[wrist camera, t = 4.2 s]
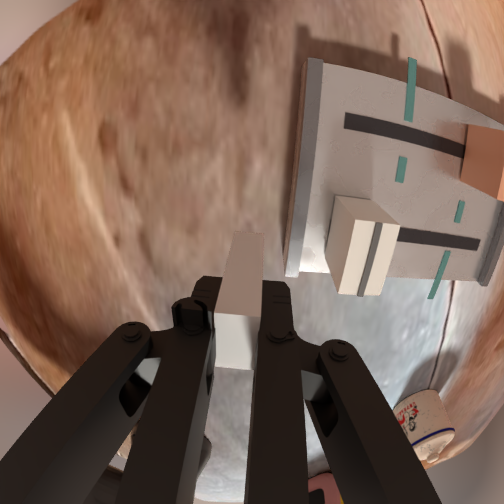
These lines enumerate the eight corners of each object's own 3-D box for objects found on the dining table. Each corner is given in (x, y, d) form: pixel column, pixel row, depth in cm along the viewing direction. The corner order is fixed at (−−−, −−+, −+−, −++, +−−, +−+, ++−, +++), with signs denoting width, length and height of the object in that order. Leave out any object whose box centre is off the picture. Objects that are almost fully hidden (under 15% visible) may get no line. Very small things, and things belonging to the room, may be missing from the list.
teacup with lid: (404, 391, 34) (425, 454, 24) (447, 383, 34) (471, 438, 24) (375, 429, 40) (387, 483, 29) (416, 422, 40) (431, 471, 29)
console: (279, 277, 26) (281, 299, 23) (303, 41, 17) (310, 28, 14) (464, 286, 26) (479, 303, 23) (507, 112, 17) (528, 115, 14)
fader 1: (324, 257, 22) (338, 295, 17) (335, 195, 20) (356, 220, 15) (359, 259, 22) (380, 297, 17) (373, 200, 20) (401, 226, 15)
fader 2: (459, 180, 18) (498, 200, 14) (468, 124, 16) (510, 132, 11) (481, 187, 18) (519, 207, 14) (490, 134, 16) (530, 144, 11)
